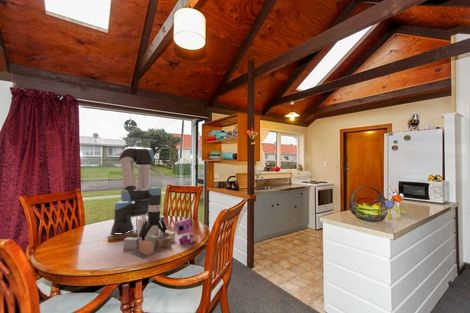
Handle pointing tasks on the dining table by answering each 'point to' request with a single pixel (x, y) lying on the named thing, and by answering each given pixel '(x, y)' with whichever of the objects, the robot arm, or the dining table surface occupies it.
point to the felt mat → (144, 254)
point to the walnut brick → (163, 243)
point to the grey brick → (131, 243)
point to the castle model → (152, 230)
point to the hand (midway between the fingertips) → (153, 244)
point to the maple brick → (170, 235)
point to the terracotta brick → (146, 247)
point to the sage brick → (153, 239)
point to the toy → (185, 230)
